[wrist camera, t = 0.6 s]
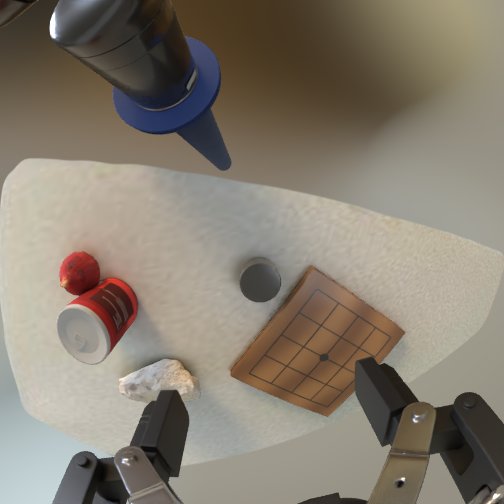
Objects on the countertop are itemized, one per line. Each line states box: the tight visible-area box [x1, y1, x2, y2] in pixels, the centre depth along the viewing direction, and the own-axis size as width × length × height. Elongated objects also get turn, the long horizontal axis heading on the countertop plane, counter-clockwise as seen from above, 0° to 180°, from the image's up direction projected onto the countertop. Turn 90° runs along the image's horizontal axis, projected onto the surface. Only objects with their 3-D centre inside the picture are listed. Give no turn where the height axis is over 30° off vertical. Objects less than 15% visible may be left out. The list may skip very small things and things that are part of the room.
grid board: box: [231, 266, 405, 417], centre depth 38 cm, size 20×20×2 cm
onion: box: [60, 252, 100, 296], centre depth 31 cm, size 6×6×8 cm
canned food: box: [56, 278, 138, 365], centre depth 31 cm, size 8×8×11 cm
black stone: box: [240, 258, 281, 302], centre depth 35 cm, size 5×5×3 cm
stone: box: [119, 359, 201, 403], centre depth 36 cm, size 8×12×10 cm
